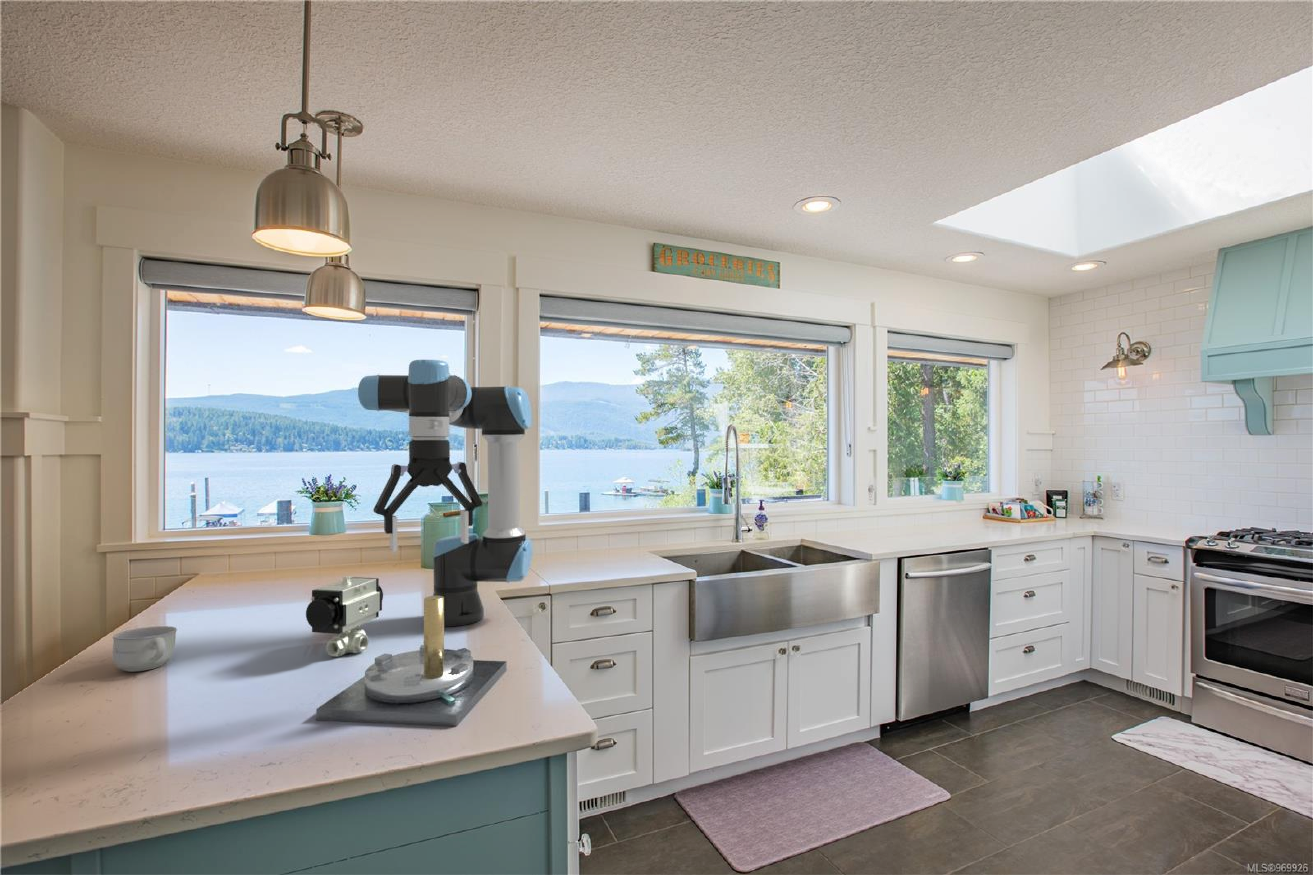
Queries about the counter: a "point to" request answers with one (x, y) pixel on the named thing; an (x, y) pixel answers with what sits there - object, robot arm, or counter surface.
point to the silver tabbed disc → (421, 665)
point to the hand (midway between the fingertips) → (430, 546)
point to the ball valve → (345, 612)
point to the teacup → (143, 648)
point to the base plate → (430, 712)
